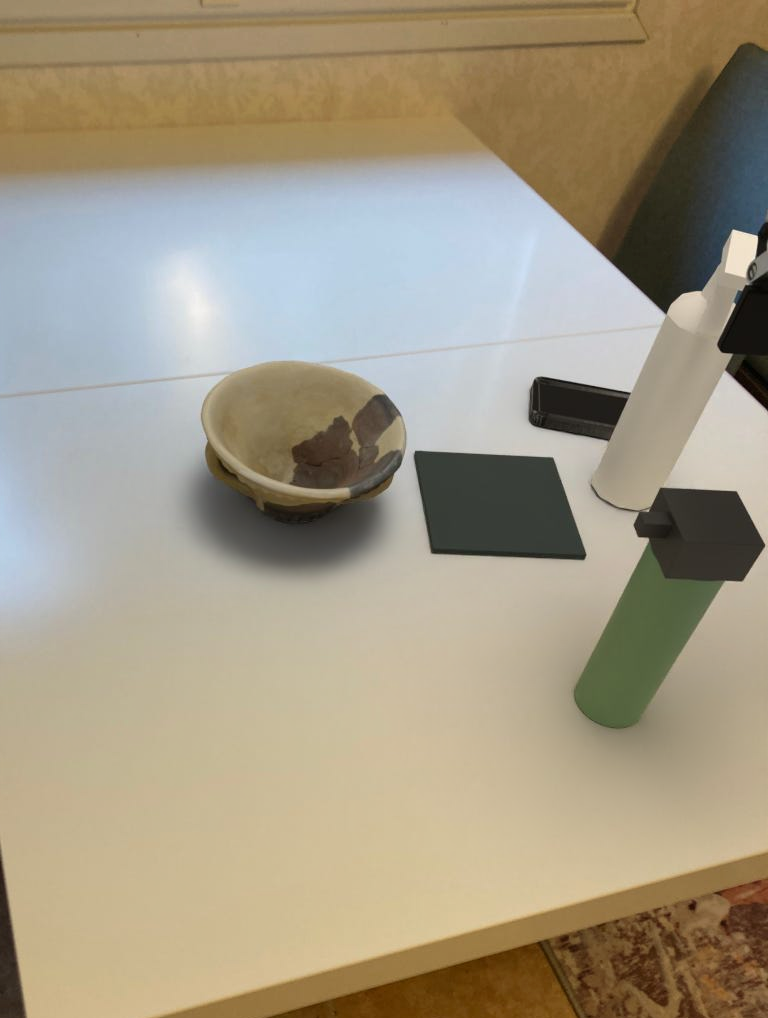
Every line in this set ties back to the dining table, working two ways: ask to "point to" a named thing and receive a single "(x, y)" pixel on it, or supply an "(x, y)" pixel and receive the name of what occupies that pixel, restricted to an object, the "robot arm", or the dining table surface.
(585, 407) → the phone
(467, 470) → the mat
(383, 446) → the bowl
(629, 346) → the dining table surface
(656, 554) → the mister
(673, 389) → the white cylindrical bottle
